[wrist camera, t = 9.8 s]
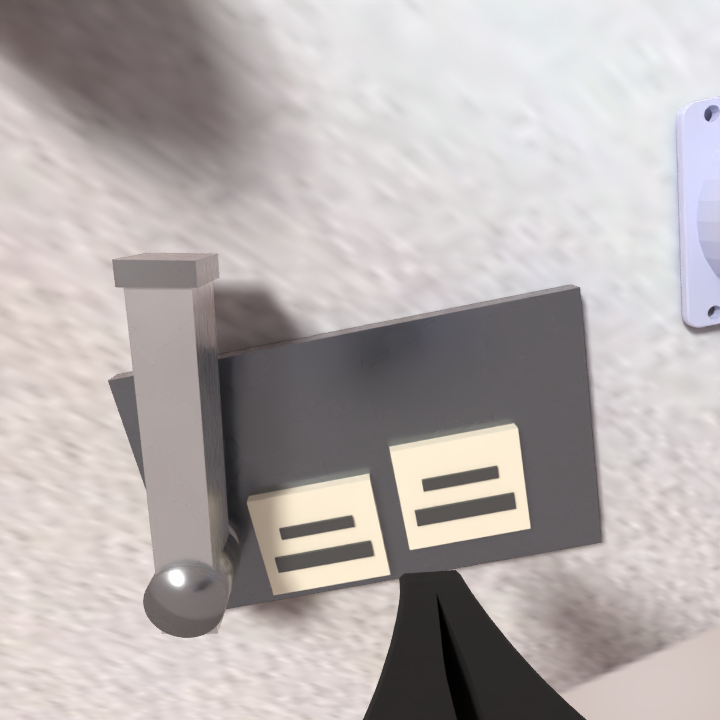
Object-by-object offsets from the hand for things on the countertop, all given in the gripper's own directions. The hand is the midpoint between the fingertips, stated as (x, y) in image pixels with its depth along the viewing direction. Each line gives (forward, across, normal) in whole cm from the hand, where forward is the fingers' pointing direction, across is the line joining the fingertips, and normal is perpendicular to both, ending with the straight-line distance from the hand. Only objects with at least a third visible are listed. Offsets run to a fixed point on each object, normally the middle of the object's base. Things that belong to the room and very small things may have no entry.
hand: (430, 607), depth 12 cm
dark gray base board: (+10, +1, +1) cm, 10 cm away
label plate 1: (+10, +3, +4) cm, 11 cm away
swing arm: (+8, +8, -1) cm, 11 cm away
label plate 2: (+10, -2, +2) cm, 10 cm away
